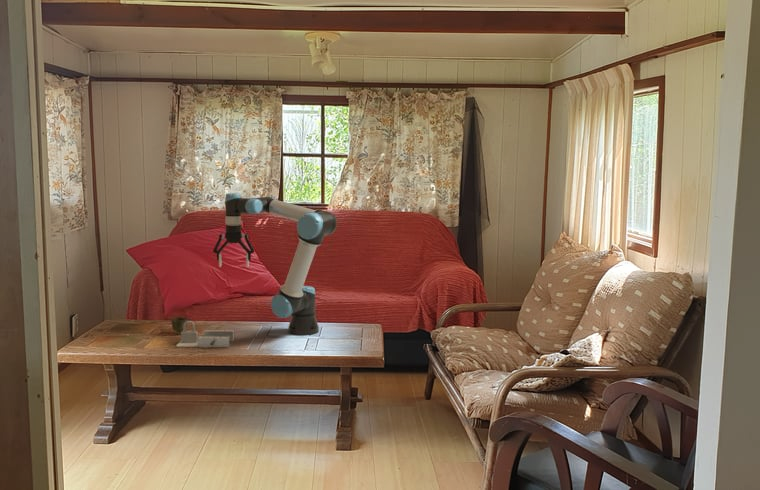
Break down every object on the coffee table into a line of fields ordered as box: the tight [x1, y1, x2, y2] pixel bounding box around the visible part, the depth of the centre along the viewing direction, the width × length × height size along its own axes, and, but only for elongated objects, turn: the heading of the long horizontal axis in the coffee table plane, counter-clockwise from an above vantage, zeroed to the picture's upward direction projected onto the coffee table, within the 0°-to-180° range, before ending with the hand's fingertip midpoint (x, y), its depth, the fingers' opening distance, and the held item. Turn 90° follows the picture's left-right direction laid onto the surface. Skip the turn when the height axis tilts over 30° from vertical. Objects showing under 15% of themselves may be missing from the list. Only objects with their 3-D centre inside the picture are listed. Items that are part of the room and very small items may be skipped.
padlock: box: [180, 320, 199, 343], centre depth 320 cm, size 7×4×10 cm, turn 92°
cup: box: [171, 315, 188, 336], centre depth 336 cm, size 8×7×8 cm
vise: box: [197, 329, 235, 348], centre depth 320 cm, size 14×17×4 cm
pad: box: [175, 340, 198, 348], centre depth 321 cm, size 9×12×1 cm
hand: (234, 266), depth 344 cm, fingers open, 13 cm apart
